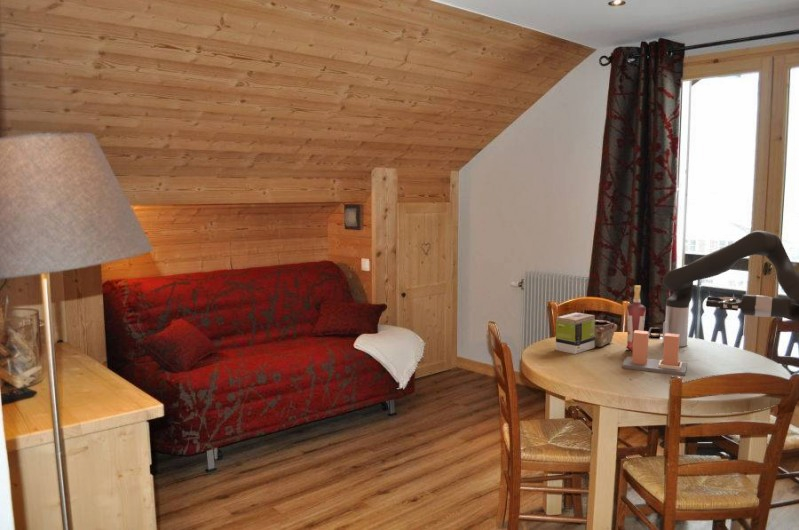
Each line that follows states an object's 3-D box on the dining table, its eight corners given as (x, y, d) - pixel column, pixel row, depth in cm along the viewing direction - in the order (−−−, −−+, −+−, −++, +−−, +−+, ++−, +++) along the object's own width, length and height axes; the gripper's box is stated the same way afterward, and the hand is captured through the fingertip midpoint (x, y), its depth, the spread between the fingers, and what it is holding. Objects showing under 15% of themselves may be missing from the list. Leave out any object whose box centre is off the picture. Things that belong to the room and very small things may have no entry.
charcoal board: (622, 367, 243) (623, 334, 242) (627, 359, 256) (628, 327, 254) (684, 375, 233) (686, 340, 232) (686, 366, 246) (688, 332, 244)
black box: (667, 337, 297) (668, 326, 296) (671, 340, 289) (671, 330, 289) (638, 335, 299) (638, 325, 299) (641, 339, 292) (641, 329, 291)
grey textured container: (572, 344, 281) (573, 322, 280) (595, 336, 295) (595, 316, 294) (599, 349, 272) (600, 327, 271) (621, 341, 286) (622, 320, 285)
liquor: (643, 353, 264) (646, 287, 261) (625, 352, 267) (627, 286, 264) (644, 349, 271) (646, 285, 268) (625, 348, 274) (628, 284, 270)
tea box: (574, 344, 281) (575, 311, 279) (594, 348, 273) (596, 314, 271) (554, 350, 271) (555, 316, 269) (574, 354, 263) (576, 319, 262)
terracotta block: (662, 366, 241) (664, 335, 240) (664, 363, 245) (665, 332, 244) (677, 368, 239) (678, 337, 237) (678, 364, 243) (679, 334, 242)
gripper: (756, 292, 235) (708, 288, 242) (757, 298, 222) (706, 294, 230) (755, 312, 236) (706, 308, 243) (756, 319, 223) (705, 314, 231)
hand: (706, 301), depth 236 cm, fingers open, 8 cm apart
